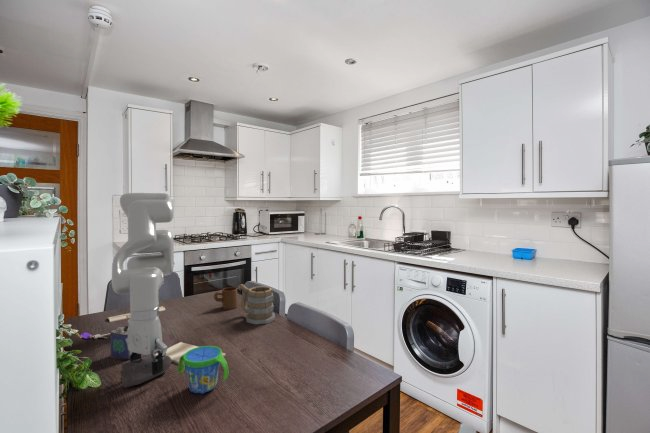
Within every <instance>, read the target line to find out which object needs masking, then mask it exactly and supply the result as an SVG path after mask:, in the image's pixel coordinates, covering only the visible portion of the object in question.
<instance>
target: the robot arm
mask: <svg viewBox="0 0 650 433" xmlns="http://www.w3.org/2000/svg"><path fill="white" fill-rule="evenodd" d="M119 204H120V207H121V209H122V211H123V214H125V215H126V217H127V241H126V242H125V243H124V244H123V245H122V246H120V247H119V249H118V250H117V252H116V253H115V254H114V257H113V259H112V265H111V287H112V291H113V292H114V293H115V294H117V295H127V294H129V305H130V307H129V311H130V314H131V318H128V320H127V323H128V328H127V329H126V332H128V338H126V343H127V348H128V350H129V355H131V356H130V361H129V362H131V361H134V360H138V359H141V358H142V355H143V356H146V357H149V356H151V357H152V359H153V362H152V375H156V374H158V373H160V372H161V371H163V358H164V356H165V355H166V351H167V348H169V347H168V346H167V344H165V343H164V342H163V334H162V333H163V332H162V323H161V319H160V312H159V307H160V302H159V289H160V288H161V287H162V285H163V284H164V280H165V279H164V278H165V276H169V275H171V274H173V271H174V267H175V261H174V260H175V259H174V258H175V256H174V253H175V251H174V250H175V249H174V248H175V247H174V245H175V244H174V236H173V233H172V232H171V231H170V230H167V229H157V227H156V226H157V223H159V224H161V223H170V222H172V221H173V219H174V216H175V215H174V213H175V212H174V210H175V209H174V206H173V205H174V204H173V201H172V198H171V196H170V194H168V193H159V192H128V193H124V194H121V196H120V198H119ZM134 254H137V255H135V256H134ZM140 254H141V255H140ZM132 255H133V256H132ZM131 256H132V257H131ZM129 257H130V258H129ZM128 258H129V259H128ZM127 259H128V260H127ZM126 260H127V262H126V269H123V264H124V262H125V261H126ZM157 353H158V355H157V356H156V355H155V354H157Z"/></svg>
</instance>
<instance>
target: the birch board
mask: <svg viewBox="0 0 650 433" xmlns="http://www.w3.org/2000/svg"><path fill="white" fill-rule="evenodd" d="M197 347H199V346H197V345H194V344H189V343H186V342H182V341H180V342H178V343H175V344H174V345H171V346H169V347H168V348H167V351H166V356H169V357H170V358H171V363H175V364H178V363H179V360H180V357H181V356H182V355H184V354H185V353H186V352H188V351H189V350H191V349H194V348H197ZM155 355H158V353H157V352H156V353H155ZM222 356H223V357H224V358H225V357H226V353H225V352H222ZM184 365H185V364H184Z"/></svg>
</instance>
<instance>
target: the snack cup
mask: <svg viewBox="0 0 650 433" xmlns="http://www.w3.org/2000/svg"><path fill="white" fill-rule="evenodd" d="M222 353H223V351H222V349H221V348H220V347H218V346H214V345H202V346H198V347H197V348H194V349H191V350H189V351H188V352H186V353H185V354H184V355H182V356H181V357H180V360H179V363H177V364H178V365H177V373H178V374H182V373H184V372H185V371H186V372H185V373H186V377H187V384H188V388H189V391H190V392H191V393H194V394H202V395H203V394H205V393H208V392H210V391H213V390H215V388H216V386H217V384H218V380H219V372H220V366H221V367H222V369H223V375H222V376H223V378H222V381H223V382H225V381H226V380H227V379H228V377H229V374H230V370H229V365H228V362H227V360H226V358H225V356H224V357H223V356H222ZM184 364H185V365H184Z"/></svg>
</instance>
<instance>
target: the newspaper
mask: <svg viewBox="0 0 650 433" xmlns="http://www.w3.org/2000/svg"><path fill="white" fill-rule="evenodd" d="M164 311H166V308H165V306H163V305H162V306H159V313H160V312H164ZM130 318H131V314H130V313H129V312H128V313H124V314H120V315H119V314H118V315H114V316H110V317H107V318H106V319H107V320H109V323H113V322H117V321H123V320H127V319H128V320H129V319H130Z"/></svg>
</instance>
